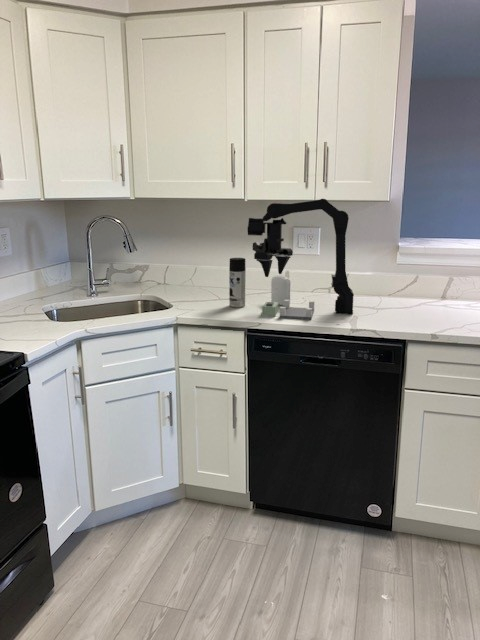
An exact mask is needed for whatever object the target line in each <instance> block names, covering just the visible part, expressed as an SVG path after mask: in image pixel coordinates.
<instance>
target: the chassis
mask: <svg viewBox="0 0 480 640" xmlns="http://www.w3.org/2000/svg"><path fill="white" fill-rule="evenodd" d="M290 305H291V299H290V300H284V306H280V307H279V316H278V317H279V319H287V320H289V319H291V320H308V321H310V320H312V318H313V315H314V313H315V300H309V301H308V307H296V306H295V307H294V306H290Z"/></svg>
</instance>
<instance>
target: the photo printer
mask: <svg viewBox="0 0 480 640" xmlns="http://www.w3.org/2000/svg"><path fill="white" fill-rule="evenodd" d="M270 285H271V287H270V289H271V290H270V293H271V295H270V299H271V301H270V302H278V306H281V307H284V300H290V301H291V280H290V279H289V278H288V277H287V276H285V275H282V274H277V275H273V276H272V278H271V281H270Z"/></svg>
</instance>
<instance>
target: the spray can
mask: <svg viewBox="0 0 480 640" xmlns="http://www.w3.org/2000/svg"><path fill="white" fill-rule="evenodd" d="M246 267H247V266H246V258H245V257H230V258H229V267H228V268H229V283H228V284H229V285H228V286H229V288H228V289H229V293H228V295H229V303H228V304H229V307H231V308H235V309H240V308H245V306H246Z"/></svg>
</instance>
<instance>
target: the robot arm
mask: <svg viewBox="0 0 480 640" xmlns="http://www.w3.org/2000/svg"><path fill="white" fill-rule="evenodd" d="M317 210H318V211H319V210H321V211H323V212H324V213H326V214H327V215H328V216H329V217H331V219H332V222H333V228H334V233H335V272H334V274H331V288H333V292H335V294H337V296H336V299H335V305H334V311H335V314H336V315H337V314H339V315H354V310H353V309H354V296H355V295H354V292H353V290H352V288H351V287H350V286H349V281H348V277H347V272H346V271H347V270H346V233H347V229H348V223H349V215H348V213H347V212H346V211H345V210H343V209H337V207H336V206H334V205H332V204H331V203H330V202H329V201H328V200H327V198H320V199H313V200H308V201H300V202H294V203H293V202H292V203H289V202H288V203H286V202H285V203H284V202H273V203H270V204H268V206H267V208H266V213H265V214H264V215H263V216H262V218H255V217H249V218H248V223H247V235H248V236H255V237H256V236H257V237H258V236H261V237H262V236H263V235H264V234H266V237H265V238H264V240H263V242H261V243H260V242H259V241H255V242H253V243H252V251H254V252H255V253H254V254H253V259H254V260H256V262H258V263H260V265H261V268H262V271H263V273H264V277H266V278H268V277H269V275H270V273H271V269H272V264H273V259H272V258H273V257H275V259H276V260H277V271H278V275H282V273H283V271H284V270H285V267H286V265H287V264H288V262H289V260H290V259H291V257H292V256H293V254H294V253H293V252H294V251H293V249H292V248H290V247H288V248H287V247H282V242H284V240H285V239H284V238H282V231H283V230H282V226H283V225H286V224H288V222H287V221H286V220H285V219H284V218H283V217H285V216H288V215H290V214H295V213H303V212H309V211H317ZM278 218H281V219H278ZM272 219H273V220H272ZM270 220H272V222H270Z"/></svg>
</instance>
